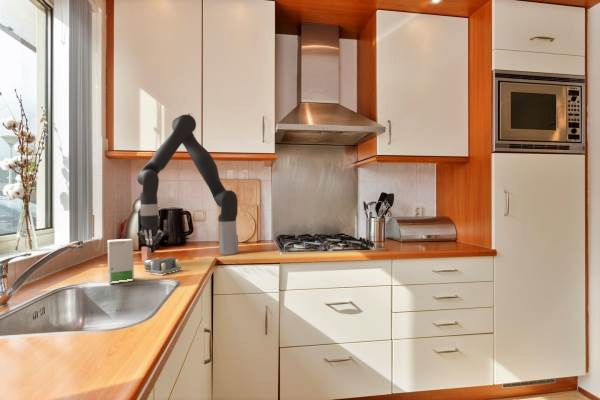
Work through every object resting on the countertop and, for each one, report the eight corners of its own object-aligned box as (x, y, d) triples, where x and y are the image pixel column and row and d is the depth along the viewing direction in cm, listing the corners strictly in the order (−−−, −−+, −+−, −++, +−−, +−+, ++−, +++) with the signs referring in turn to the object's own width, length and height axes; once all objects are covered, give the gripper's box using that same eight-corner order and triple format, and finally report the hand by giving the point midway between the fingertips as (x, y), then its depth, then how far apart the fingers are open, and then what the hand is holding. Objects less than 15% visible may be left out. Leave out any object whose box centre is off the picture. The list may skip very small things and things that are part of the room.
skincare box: (109, 285, 123) (107, 241, 123) (107, 281, 129) (106, 240, 128) (135, 281, 128) (133, 239, 127) (132, 277, 133) (130, 237, 133)
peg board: (168, 268, 148) (168, 258, 147) (181, 270, 144) (181, 259, 144) (148, 274, 139) (148, 262, 139) (161, 275, 135) (161, 264, 135)
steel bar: (169, 266, 145) (169, 256, 145) (175, 267, 144) (175, 257, 144) (153, 270, 138) (153, 260, 138) (159, 271, 137) (159, 261, 137)
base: (153, 267, 151) (153, 263, 151) (162, 268, 148) (161, 264, 148) (142, 270, 146) (141, 265, 146) (150, 271, 143) (150, 266, 143)
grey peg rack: (161, 265, 146) (161, 249, 146) (146, 267, 143) (146, 250, 142) (150, 261, 157) (150, 245, 157) (136, 263, 153) (136, 247, 153)
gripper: (167, 213, 157) (169, 251, 157) (142, 214, 160) (144, 251, 160) (157, 214, 149) (159, 254, 150) (131, 215, 152) (133, 254, 153)
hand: (151, 252), depth 155 cm, fingers closed
